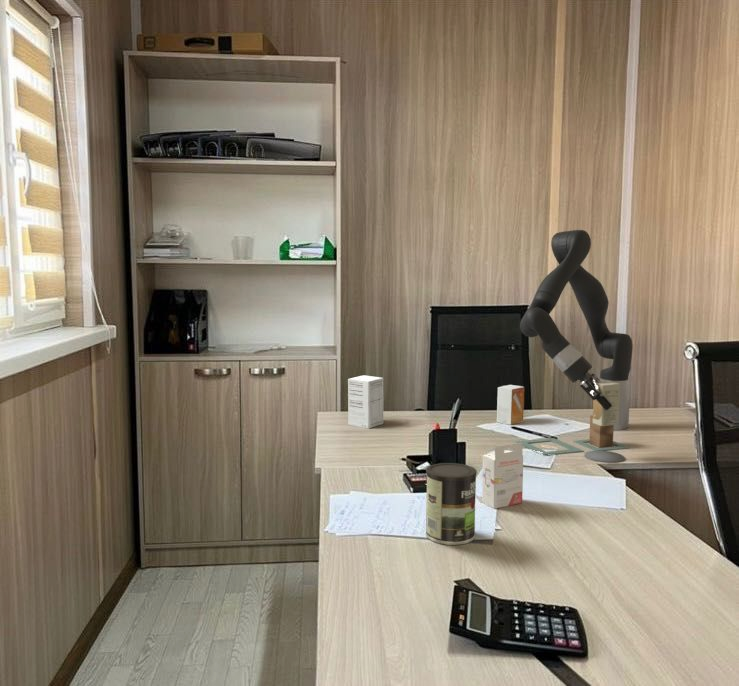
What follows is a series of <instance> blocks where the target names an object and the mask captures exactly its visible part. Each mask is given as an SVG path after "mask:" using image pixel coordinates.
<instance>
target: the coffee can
mask: <svg viewBox="0 0 739 686" xmlns="http://www.w3.org/2000/svg"><path fill="white" fill-rule="evenodd" d="M425 472H426V509H425V510H426V511H425V512H426V517H425V518H426V519H425V520H426V522H425V524H426V525H425V526H426V527H425V537H426V538H427V540H430V541H431V542H434V543H436V544H440V545H447V546H461V545H466V544H469V543H471V542H472V541H474V540H475V538H476V535H475V533H476V532H475V530H476V528H475V527H476V493H477V492H476V491H477V489H476V488H477V487H476V486H477V481H476V480H477V469H476V468H475V467H473V466H470V465H467V464H463V463H459V462H458V463H455V462H439V463H434V464H431V465H429V466H427V467H426V469H425Z"/></svg>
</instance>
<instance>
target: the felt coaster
mask: <svg viewBox="0 0 739 686" xmlns="http://www.w3.org/2000/svg"><path fill="white" fill-rule="evenodd" d="M584 457H585V458H586V459H587V460H590V461H593V462H599V463H606V464H607V463H608V464H615V463H621V462H624V461H625V456H624V455H623V454H620V453H619V452H618V453H617V452H614V451H611V450H608V451H594V450H587V451H586V452H584Z"/></svg>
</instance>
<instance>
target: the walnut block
mask: <svg viewBox="0 0 739 686" xmlns="http://www.w3.org/2000/svg"><path fill="white" fill-rule="evenodd" d="M589 418H590V419H589V421H590V422H589V438H588V439H589V442H588V444H589V445H592V446H594V447H597V448H606V447H614V445H613V441H614V431H615V430H614V425H608V426H600V425H597V424H594V423H593V415H590V417H589Z"/></svg>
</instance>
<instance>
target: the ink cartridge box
mask: <svg viewBox="0 0 739 686" xmlns="http://www.w3.org/2000/svg"><path fill="white" fill-rule="evenodd" d="M508 449H510V450H508ZM506 450H507V451H506ZM523 452H524V451H523V446H522V443H516V442H515V443H510V444H504V445H497V446H495V447H494V452H493V453H488V454H487V453H486V454H482V482H481V483H482V484H481V485H482V486H481V487H482V491H481V496H482V497H481V499H482V502H481V503H483V504H484V505H487V506H489V507H491V508H492V509H499V508H504V507H508V506H509V507H510V506H514V505H518V504H523V490H524V489H523V488H524V487H523V486H524V485H523V483H524V455H523Z"/></svg>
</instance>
